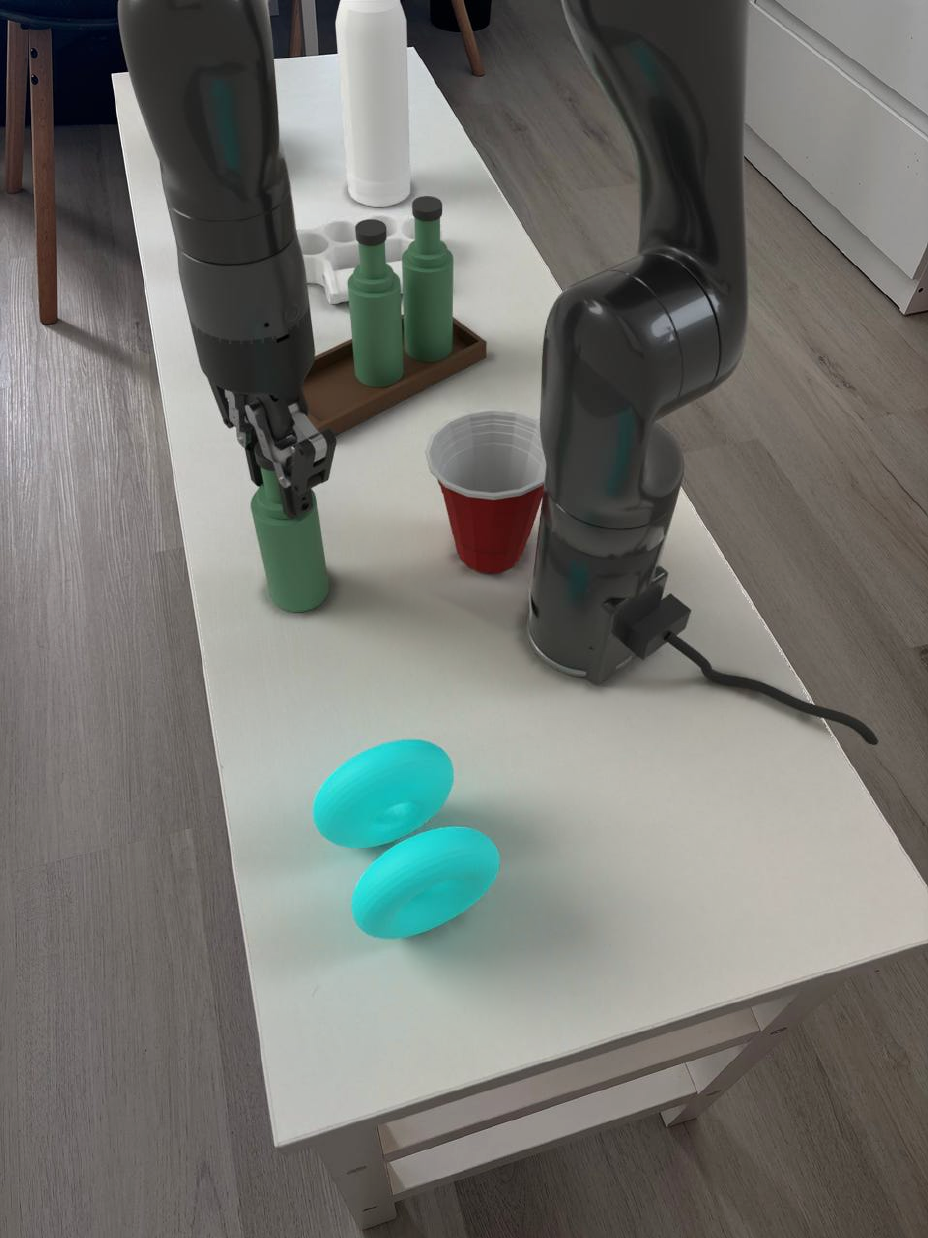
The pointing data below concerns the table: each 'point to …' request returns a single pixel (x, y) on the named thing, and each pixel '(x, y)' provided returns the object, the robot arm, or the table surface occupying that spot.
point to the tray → (351, 402)
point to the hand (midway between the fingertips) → (282, 495)
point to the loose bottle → (288, 545)
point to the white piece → (350, 250)
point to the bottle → (374, 100)
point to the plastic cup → (489, 483)
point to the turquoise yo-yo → (417, 867)
